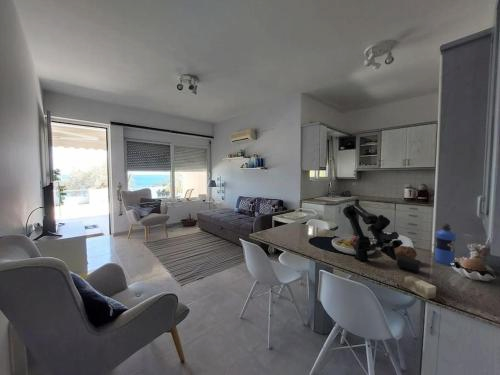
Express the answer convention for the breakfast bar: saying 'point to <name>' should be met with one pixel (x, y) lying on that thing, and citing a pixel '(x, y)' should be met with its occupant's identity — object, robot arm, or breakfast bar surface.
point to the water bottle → (445, 245)
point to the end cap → (409, 264)
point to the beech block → (419, 286)
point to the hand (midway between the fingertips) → (395, 259)
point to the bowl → (346, 245)
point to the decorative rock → (405, 252)
